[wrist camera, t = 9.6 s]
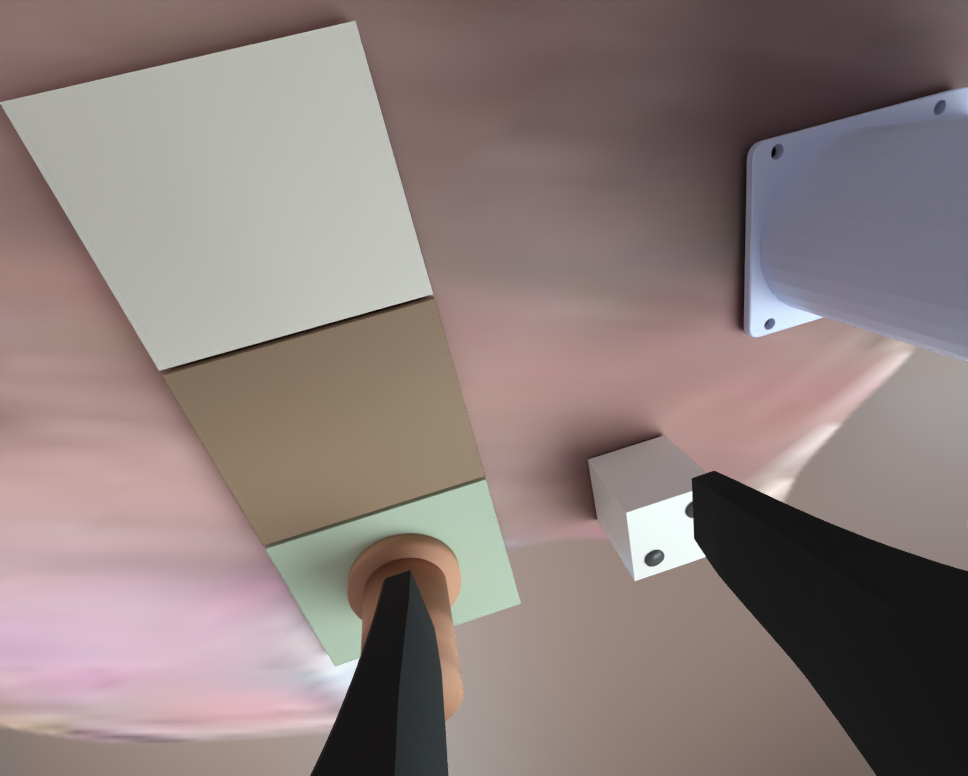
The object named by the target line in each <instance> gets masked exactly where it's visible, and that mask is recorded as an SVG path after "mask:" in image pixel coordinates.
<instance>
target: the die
mask: <svg viewBox="0 0 968 776" xmlns="http://www.w3.org/2000/svg"><path fill="white" fill-rule="evenodd" d="M588 465H589V471H590V477H591V483H592V489H593V495H594V501H595V508H596V514H597V520H598V523H599V524H600V526H601V528H602V529H603V531H604V532H605V534H606V536H607V537H608V539H609V540H610V542H611V544H612V545H613V547H614V548H615V550H616V552H617V553H618V555H619V556H620V558H621V560H622V561H623V563H624V564H625V566H626V567H627V569H628V571H629V573H630V574H631V576H632V577H633V579H634V580H635V581H637V580H640V579H642V578H645V577H648V576H651V575H654V574H657V573H660V572H663V571H666V570H668V569H672V568H674V567H677V566H680V565H683V564H686V563H689V562H692V561H695V560H698V559H701V558H704V557H706V556H705V555H704V553H703V552H702V550H701V549H700V547H699V546H698V544H697V543H696V541H695V540H694V526H693V500H692V478H694V477H697V476H700V475H703V474H706V472H705V471H704V470H702V469H701V468H700V467H699V466H698V465H697V464H696V463H695V462H694V461H693V460H691V459H690V458H689V457H688V456H687V455H686V454H685V453H684V452H683V451H682V450H680V449H679V448H678V447H677V446H676V445H675V444H674V443H673V442H672V441H671V440H670V439H668V438H667V437H666V436H665V435H664V436H660V437H657V438H654V439H651V440H648V441H645V442H642V443H638V444H635V445H632V446H629V447H626V448H623V449H620V450H616V451H613V452H610V453H607V454H604V455H601V456H598V457H594V458H591V459H588Z"/></svg>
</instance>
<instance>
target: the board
mask: <svg viewBox="0 0 968 776" xmlns="http://www.w3.org/2000/svg"><path fill="white" fill-rule="evenodd" d="M0 104H1V106H2V108H3V109H4V111H5V113H6V114H7V116H8V118H9V119H10V121H11V123H12V124H13V126H14V128H15V129H16V131H17V133H18V134H19V136H20V138H21V139H22V141H23V143H24V145H25V146H26V148H27V150H28V151H29V153H30V155H31V156H32V158H33V160H34V161H35V163H36V165H37V166H38V168H39V170H40V171H41V173H42V175H43V176H44V178H45V180H46V182H47V183H48V185H49V187H50V188H51V190H52V192H53V193H54V195H55V197H56V198H57V200H58V202H59V203H60V205H61V207H62V208H63V210H64V212H65V213H66V215H67V217H68V218H69V220H70V222H71V224H72V225H73V227H74V229H75V230H76V232H77V234H78V235H79V237H80V239H81V240H82V242H83V244H84V245H85V247H86V249H87V250H88V252H89V254H90V255H91V257H92V259H93V261H94V262H95V264H96V266H97V267H98V269H99V271H100V272H101V274H102V276H103V277H104V279H105V281H106V282H107V284H108V286H109V287H110V289H111V291H112V292H113V294H114V296H115V298H116V299H117V301H118V303H119V304H120V306H121V308H122V309H123V311H124V313H125V314H126V316H127V318H128V319H129V321H130V323H131V324H132V326H133V328H134V329H135V331H136V333H137V335H138V336H139V338H140V340H141V341H142V343H143V345H144V346H145V348H146V350H147V351H148V353H149V355H150V356H151V358H152V360H153V361H154V363H155V365H156V366H157V368H158V370H159V371H160V370H164V369H167V368H171V367H174V366H178V365H182V364H185V363H189V362H192V361H196V360H199V359H203V358H207V357H210V356H214V355H217V354H221V353H224V352H228V351H232V350H235V349H239V348H242V347H246V346H249V345H253V344H257V343H260V342H264V341H267V340H271V339H274V338H278V337H282V336H285V335H289V334H292V333H296V332H299V331H303V330H307V329H310V328H314V327H317V326H321V325H324V324H328V323H332V322H335V321H339V320H342V319H346V318H349V317H353V316H357V315H360V314H364V313H367V312H371V311H374V310H378V309H382V308H385V307H389V306H392V305H396V304H399V303H403V302H407V301H410V300H414V299H417V298H421V297H424V296H428V295H432V294H433V292H432V289H431V285H430V282H429V278H428V275H427V271H426V268H425V264H424V261H423V257H422V253H421V250H420V246H419V243H418V239H417V236H416V232H415V229H414V225H413V222H412V218H411V215H410V211H409V208H408V204H407V201H406V197H405V194H404V190H403V187H402V183H401V180H400V176H399V173H398V169H397V165H396V162H395V158H394V155H393V151H392V148H391V144H390V141H389V137H388V134H387V130H386V127H385V123H384V120H383V116H382V113H381V109H380V106H379V102H378V99H377V95H376V92H375V88H374V85H373V81H372V77H371V74H370V70H369V67H368V63H367V60H366V56H365V53H364V49H363V46H362V42H361V39H360V35H359V32H358V28H357V25H356V21H352V22H347V23H343V24H339V25H334V26H330V27H326V28H321V29H317V30H313V31H308V32H304V33H300V34H295V35H291V36H286V37H282V38H278V39H273V40H269V41H265V42H260V43H256V44H252V45H247V46H243V47H239V48H234V49H230V50H225V51H221V52H217V53H212V54H208V55H204V56H199V57H195V58H191V59H186V60H182V61H178V62H173V63H169V64H165V65H160V66H156V67H151V68H147V69H143V70H138V71H134V72H130V73H125V74H121V75H117V76H112V77H108V78H104V79H99V80H95V81H91V82H86V83H82V84H77V85H73V86H69V87H64V88H60V89H56V90H51V91H47V92H43V93H38V94H34V95H30V96H25V97H21V98H17V99H12V100H8V101H3V102H0ZM162 377H163V378H164V380H165V382H166V383H167V385H168V387H169V388H170V390H171V392H172V393H173V395H174V397H175V398H176V400H177V402H178V403H179V405H180V407H181V408H182V410H183V412H184V414H185V415H186V417H187V419H188V420H189V422H190V424H191V425H192V427H193V429H194V430H195V432H196V434H197V435H198V437H199V439H200V440H201V442H202V444H203V445H204V447H205V449H206V451H207V452H208V454H209V456H210V457H211V459H212V461H213V462H214V464H215V466H216V467H217V469H218V471H219V472H220V474H221V476H222V477H223V479H224V481H225V482H226V484H227V486H228V488H229V489H230V491H231V493H232V494H233V496H234V498H235V499H236V501H237V503H238V504H239V506H240V508H241V509H242V511H243V513H244V514H245V516H246V518H247V519H248V521H249V523H250V524H251V526H252V528H253V530H254V531H255V533H256V535H257V536H258V538H259V540H260V541H261V543H262V545H263V546H264V545H266V548H265V550H266V551H267V553H268V555H269V556H270V558H271V560H272V561H273V563H274V565H275V567H276V568H277V570H278V572H279V573H280V575H281V577H282V578H283V580H284V582H285V583H286V585H287V587H288V588H289V590H290V592H291V593H292V595H293V597H294V598H295V600H296V602H297V604H298V605H299V607H300V609H301V610H302V612H303V614H304V615H305V617H306V619H307V620H308V622H309V624H310V625H311V627H312V629H313V630H314V632H315V634H316V635H317V637H318V639H319V641H320V642H321V644H322V646H323V647H324V649H325V651H326V652H327V654H328V656H329V657H330V659H331V661H332V662H333V664H334V666H338V665H341V664H344V663H347V662H349V661H352V660H355V659H358V658H360V656H361V635H362V620H361V619H360V618H359V617H358V616H357V615H356V614H355V613H354V612H353V610H352V609H351V607H350V604H349V601H348V581H349V573H350V570H351V567H352V565H353V563H354V561H355V560H356V558H357V557H358V556H359V555H360V554H361V552H362V551H364V550H365V549H366V548H367V547H368V546H370V545H372V544H373V543H375V542H377V541H379V540H381V539H383V538H386V537H389V536H393V535H397V534H405V533H418V534H424V535H428V536H432V537H434V538H437V539H439V540H440V541H442V542H444V543H445V544H446V545H448V546H449V547H450V549H451V550H452V551H453V552H454V554H455V556H456V558H457V561H458V564H459V569H460V575H461V589H460V593H459V595H458V597H457V599H456V601H455V603H454V604H453V605H452V606H451V613H452V620H453V626H455V625H458V624H462V623H465V622H467V621H470V620H473V619H476V618H479V617H482V616H485V615H488V614H491V613H494V612H497V611H500V610H503V609H506V608H509V607H512V606H515V605H518V604H520V603H521V602H520V599H519V595H518V592H517V588H516V585H515V581H514V578H513V574H512V570H511V567H510V563H509V560H508V556H507V553H506V549H505V546H504V542H503V539H502V535H501V532H500V528H499V525H498V521H497V518H496V514H495V510H494V507H493V503H492V500H491V496H490V493H489V489H488V486H487V482H486V479H485V475H484V472H483V468H482V465H481V461H480V458H479V454H478V451H477V447H476V444H475V440H474V437H473V433H472V429H471V426H470V422H469V419H468V415H467V412H466V408H465V405H464V401H463V398H462V394H461V391H460V387H459V384H458V380H457V377H456V373H455V370H454V366H453V363H452V359H451V356H450V352H449V349H448V345H447V341H446V338H445V334H444V331H443V327H442V324H441V320H440V317H439V313H438V310H437V306H436V303H435V299H434V297H433V296H432V297H429V298H425V299H422V300H418V301H414V302H411V303H407V304H404V305H400V306H397V307H393V308H389V309H386V310H382V311H379V312H375V313H372V314H368V315H365V316H361V317H357V318H354V319H350V320H347V321H343V322H340V323H336V324H332V325H329V326H325V327H322V328H318V329H315V330H311V331H307V332H304V333H300V334H297V335H293V336H290V337H286V338H283V339H279V340H275V341H272V342H268V343H265V344H261V345H258V346H254V347H250V348H247V349H243V350H240V351H236V352H233V353H229V354H225V355H222V356H218V357H215V358H211V359H208V360H204V361H201V362H197V363H193V364H190V365H186V366H183V367H179V368H176V369H172V370H168V371H167V372H166V373H165V374H164V375H162Z"/></svg>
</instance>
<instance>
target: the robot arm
mask: <svg viewBox="0 0 968 776" xmlns="http://www.w3.org/2000/svg"><path fill="white" fill-rule="evenodd" d="M934 108H935V110H934ZM774 146H775V148H776V153H775V155H774V157H773V158H772V156H771V152H772V149H773V147H774ZM823 317H825V318H828V319H831V320H834V321H837V322H841V323H844V324H847V325H850V326H853V327H857V328H860V329H863V330H866V331H869V332H873V333H876V334H879V335H882V336H885V337H889V338H892V339H895V340H898V341H901V342H905V343H908V344H911V345H914V346H917V347H921V348H924V349H927V350H930V351H933V352H937V353H940V354H943V355H946V356H949V357H953V358H956V359H959V360H962V361H965V362H968V87H961V88H955V89H951V90H948V91H944V92H940V93H937V94H933V95H929V96H925V97H922V98H918V99H914V100H910V101H907V102H903V103H899V104H896V105H892V106H888V107H884V108H881V109H877V110H873V111H870V112H866V113H862V114H858V115H855V116H851V117H847V118H843V119H840V120H836V121H832V122H829V123H825V124H821V125H817V126H814V127H810V128H806V129H803V130H799V131H795V132H791V133H788V134H784V135H780V136H777V137H773V138H769V139H765V140H762V141H759V142H757V143H755V144H754V145H753V146H752V147H751V148H750V150H749V152H748V156H747V183H746V237H745V290H744V332H745V333H746V334H747V335H749V336H752V337H754V338H755V337H761V336H764V335H767V334H770V333H774V332H777V331H780V330H784V329H787V328H790V327H793V326H797V325H800V324H803V323H807V322H810V321H813V320H816V319H820V318H823ZM768 319H769V321H768V323H767V325H766V326H764V325H765V322H766V321H767V320H768ZM692 500H693V526H694V540H695V541H696V543H697V544H698V546H699V547H700V549H701V550H702V552H703V553H704V555H705V556H706V558H707V559H708V560H709V562H710V563H711V565H712V566H713V568H714V569H715V570H716V572H717V573H718V575H719V576H720V577H721V578H722V580H723V581H724V582H725V583H726V584H727V586H728V587H729V588H730V589H731V590H732V591H733V593H734V594H735V595H736V596H737V597H738V598H739V600H740V601H741V602H742V603H743V604H744V605H745V606H746V608H747V609H748V610H749V611H750V612H751V613H752V614H753V616H754V617H755V618H756V619H757V620H758V621H759V622H760V624H762V626H763V627H764V628H765V629H766V630H767V632H768V633H769V634H770V635H771V636H772V637H773V638H774V640H775V641H776V642H777V643H778V644H779V645H780V646H781V648H782V649H783V650H784V651H785V652H786V653H787V655H788V656H789V657H790V658H791V659H792V660H793V662H794V663H795V664H796V665H797V667H798V668H799V669H800V670H801V672H802V673H803V674H804V675H805V676H806V678H807V679H808V680H809V682H810V683H811V685H812V686H813V687H814V689H815V690H816V691H817V693H818V694H819V695H820V697H821V698H822V699H823V701H824V702H825V704H826V705H827V706H828V708H829V709H830V710H831V712H832V713H833V715H834V716H835V717H836V719H837V720H838V721H839V723H840V724H841V726H842V727H843V728H844V730H845V731H846V733H847V734H848V736H849V737H850V738H851V740H852V741H853V743H854V744H855V745H856V747H857V748H858V750H859V751H860V752H861V754H862V755H863V757H864V758H865V760H866V761H867V763H868V764H869V765H870V767H871V768H872V770H873V771H874V773H875V774H876V776H968V571H965V570H961V569H957V568H954V567H951V566H948V565H944V564H941V563H938V562H935V561H932V560H928V559H926V558H923V557H920V556H917V555H914V554H911V553H908V552H905V551H902V550H899V549H896V548H893V547H890V546H887V545H885V544H882V543H879V542H876V541H874V540H871V539H868V538H865V537H863V536H861V535H858V534H856V533H853V532H850V531H848V530H845V529H843V528H840V527H838V526H835V525H833V524H830V523H828V522H826V521H824V520H821V519H819V518H816V517H814V516H812V515H810V514H807V513H805V512H803V511H800V510H798V509H796V508H794V507H792V506H789V505H787V504H785V503H783V502H781V501H778V500H776V499H774V498H772V497H770V496H768V495H766V494H763V493H761V492H759V491H757V490H755V489H753V488H751V487H748V486H746V485H744V484H742V483H740V482H738V481H736V480H734V479H731V478H729V477H727V476H725V475H723V474H720V473H718V472H716V471H712V472H709V473H706V474H703V475H700V476H697V477H694V478H692ZM310 776H448V763H447V747H446V730H445V713H444V698H443V682H442V670H441V664H440V657H439V651H438V645H437V639H436V633H435V628H434V625H433V622H432V620H431V617H430V615H429V613H428V610H427V608H426V605H425V603H424V601H423V598H422V596H421V593H420V591H419V589H418V586H417V584H416V581H415V579H414V577H413V574H412V572H411V570H409V571H406V572H403V573H400V574H397V575H394V576H391V577H388V578H385V580H384V582H383V583H382V587H381V591H380V595H379V599H378V603H377V606H376V610H375V613H374V616H373V620H372V623H371V626H370V629H369V633H368V636H367V639H366V642H365V644H364V647H363V650H362V653H361V656H360V659H359V662H358V665H357V668H356V670H355V673H354V676H353V678H352V681H351V684H350V686H349V689H348V691H347V694H346V696H345V699H344V701H343V704H342V706H341V709H340V711H339V714H338V716H337V718H336V721H335V723H334V725H333V728H332V730H331V732H330V735H329V737H328V739H327V741H326V743H325V746H324V748H323V750H322V752H321V754H320V756H319V758H318V761H317V763H316V765H315V767H314V769H313V771H312V773H311V775H310Z"/></svg>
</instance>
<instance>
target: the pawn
mask: <svg viewBox="0 0 968 776" xmlns="http://www.w3.org/2000/svg"><path fill="white" fill-rule="evenodd" d="M409 570H411V572H412V574H413V577H414V579H415V581H416V584H417V586H418V589H419V591H420V593H421V596H422V598H423V601H424V603H425V605H426V608H427V610H428V613H429V615H430V617H431V620H432V622H433V625H434V628H435V633H436V639H437V645H438V651H439V657H440V664H441V670H442V682H443V698H444V713H445V721H446V720H447V719H449V718H450V717H451V716H452V715H453V714H454V713H455V712H456V711H457V709H458V708H459V706H460V704H461V702H462V700H463V695H464V690H463V683H462V677H461V670H460V664H459V658H458V652H457V645H456V639H455V633H454V626H453V620H452V613H451V606H452V605H453V604H454V603H455V601H456V599H457V597H458V595H459V593H460V589H461V575H460V569H459V564H458V561H457V558H456V556H455V554H454V552H453V551H452V550H451V549H450V547H449V546H448V545H446V544H445V543H444V542H442V541H440V540H439V539H437V538H434V537H432V536H428V535H424V534H418V533H405V534H397V535H393V536H389V537H386V538H383V539H381V540H379V541H377V542H375V543H373V544H372V545H370V546H368V547H367V548H366V549H365V550H364V551H362V552H361V554H360V555H359V556H358V557H357V558H356V560H355V561H354V563H353V565H352V567H351V570H350V573H349V581H348V601H349V604H350V607H351V609H352V610H353V612H354V613H355V614H356V615H357V616H358V617H359V618H360V619H361V620H362V635H361V653H362V650H363V647H364V644H365V642H366V639H367V636H368V633H369V629H370V626H371V623H372V620H373V616H374V613H375V610H376V606H377V603H378V599H379V595H380V591H381V587H382V583H383V582H384V580H385V578H388V577H391V576H394V575H397V574H400V573H403V572H406V571H409Z"/></svg>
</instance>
